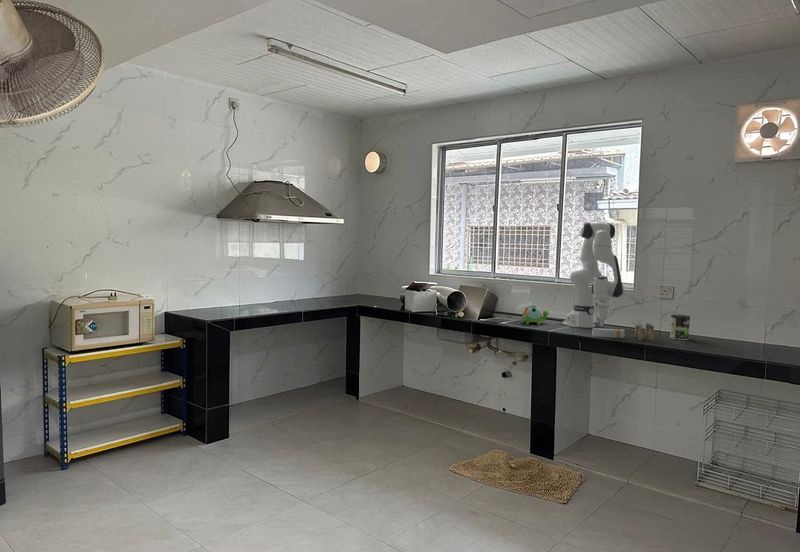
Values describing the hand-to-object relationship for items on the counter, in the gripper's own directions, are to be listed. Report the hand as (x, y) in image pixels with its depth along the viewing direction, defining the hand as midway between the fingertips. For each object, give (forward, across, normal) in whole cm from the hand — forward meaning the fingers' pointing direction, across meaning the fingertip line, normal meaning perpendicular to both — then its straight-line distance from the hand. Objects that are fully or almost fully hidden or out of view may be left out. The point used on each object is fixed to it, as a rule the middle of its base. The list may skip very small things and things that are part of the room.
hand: (600, 325), depth 338 cm
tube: (+7, -1, +5) cm, 8 cm away
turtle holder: (+5, -40, -36) cm, 54 cm away
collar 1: (+7, 0, +22) cm, 23 cm away
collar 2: (+7, 0, +28) cm, 29 cm away
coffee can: (+8, -6, +47) cm, 48 cm away
